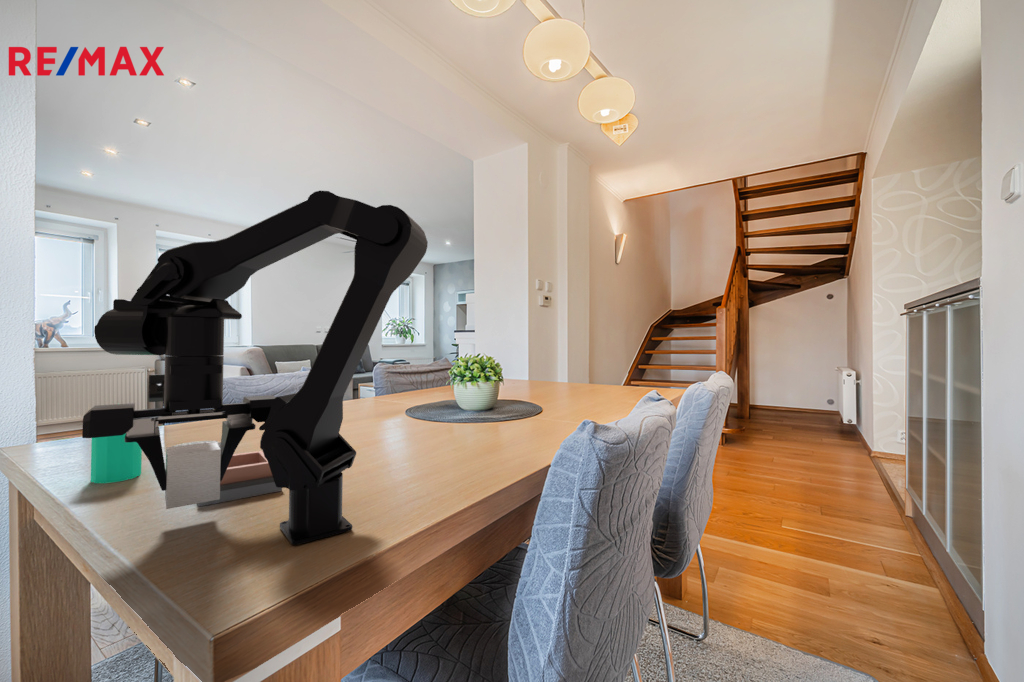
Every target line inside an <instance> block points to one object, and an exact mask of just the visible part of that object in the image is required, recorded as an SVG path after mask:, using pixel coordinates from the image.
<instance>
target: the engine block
mask: <svg viewBox="0 0 1024 682" xmlns="http://www.w3.org/2000/svg"><path fill="white" fill-rule="evenodd" d="M173 446H174V447H172V446H167V447H165V462H166V477H167V478H166V490H165V491H164V498H165V509H166V510H170V509H176V508H180V507H187V506H191V505H196V504H197V505H198V503H202V502H208V501H213V500H219V499H220V464H221V449H220V447H219V446H218V444H217V443H216V442H210V443H201V444H192V445H183V446H176V445H173Z"/></svg>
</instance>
